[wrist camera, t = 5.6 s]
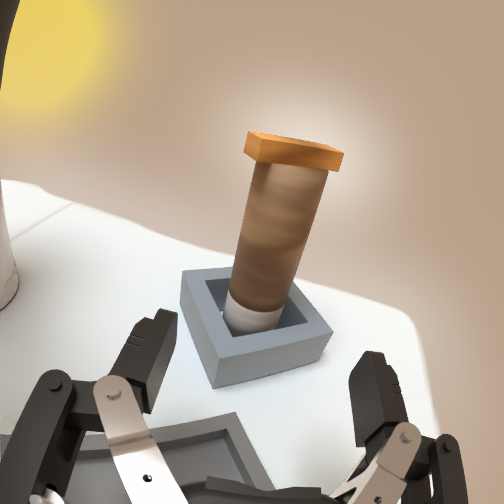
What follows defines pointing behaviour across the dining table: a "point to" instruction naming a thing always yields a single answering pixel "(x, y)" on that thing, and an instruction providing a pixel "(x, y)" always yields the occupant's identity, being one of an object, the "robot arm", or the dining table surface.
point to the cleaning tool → (275, 227)
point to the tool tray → (168, 459)
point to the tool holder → (254, 345)
